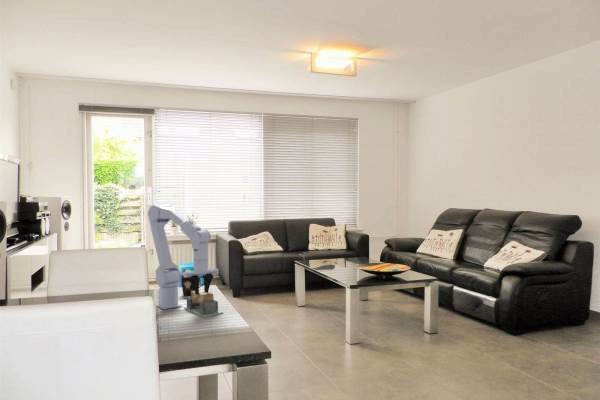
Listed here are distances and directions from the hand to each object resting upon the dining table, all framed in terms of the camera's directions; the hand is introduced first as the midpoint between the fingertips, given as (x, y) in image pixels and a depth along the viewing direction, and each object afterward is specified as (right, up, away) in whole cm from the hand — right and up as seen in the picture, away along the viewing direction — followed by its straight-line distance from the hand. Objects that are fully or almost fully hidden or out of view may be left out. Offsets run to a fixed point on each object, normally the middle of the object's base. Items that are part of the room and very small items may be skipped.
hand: (201, 293), depth 189 cm
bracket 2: (+4, -7, -5) cm, 10 cm away
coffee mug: (-12, -8, +36) cm, 38 cm away
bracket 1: (-3, -8, +5) cm, 10 cm away
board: (+1, -7, 0) cm, 7 cm away
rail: (0, -4, 0) cm, 4 cm away
